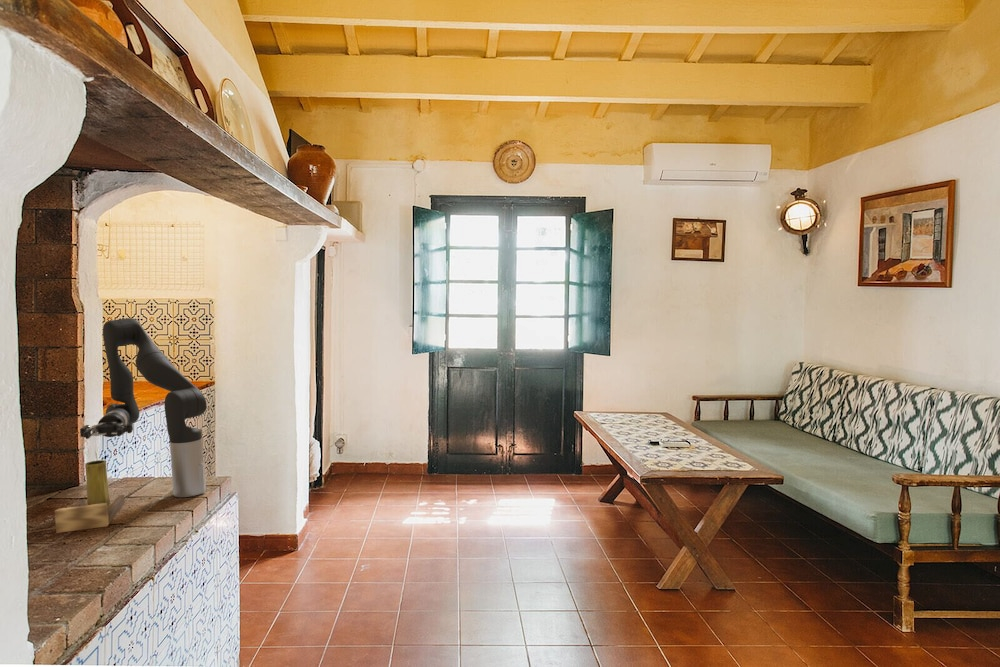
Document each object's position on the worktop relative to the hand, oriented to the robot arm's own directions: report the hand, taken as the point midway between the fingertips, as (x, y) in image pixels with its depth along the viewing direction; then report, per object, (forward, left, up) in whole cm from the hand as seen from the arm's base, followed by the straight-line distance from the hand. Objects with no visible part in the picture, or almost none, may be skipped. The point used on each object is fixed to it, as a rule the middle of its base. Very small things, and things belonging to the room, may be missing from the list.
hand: (102, 434), depth 202 cm
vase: (0, +11, -21) cm, 24 cm away
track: (0, +18, -21) cm, 27 cm away
